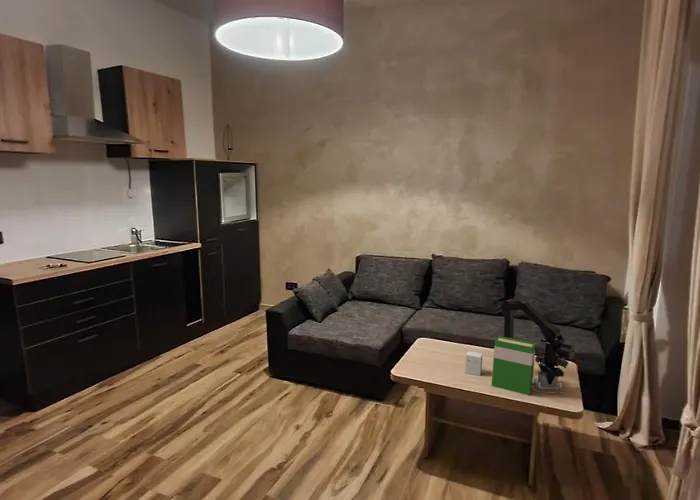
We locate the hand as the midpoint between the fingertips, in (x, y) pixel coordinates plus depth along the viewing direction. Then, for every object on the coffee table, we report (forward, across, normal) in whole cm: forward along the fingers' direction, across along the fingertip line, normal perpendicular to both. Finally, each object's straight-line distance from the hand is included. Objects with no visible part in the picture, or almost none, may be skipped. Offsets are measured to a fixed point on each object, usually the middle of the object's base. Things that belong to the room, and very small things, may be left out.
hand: (547, 382), depth 216 cm
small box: (+4, +17, +32) cm, 36 cm away
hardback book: (+4, 0, +18) cm, 18 cm away
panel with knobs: (+3, 0, 0) cm, 3 cm away
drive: (+1, 0, 0) cm, 1 cm away
